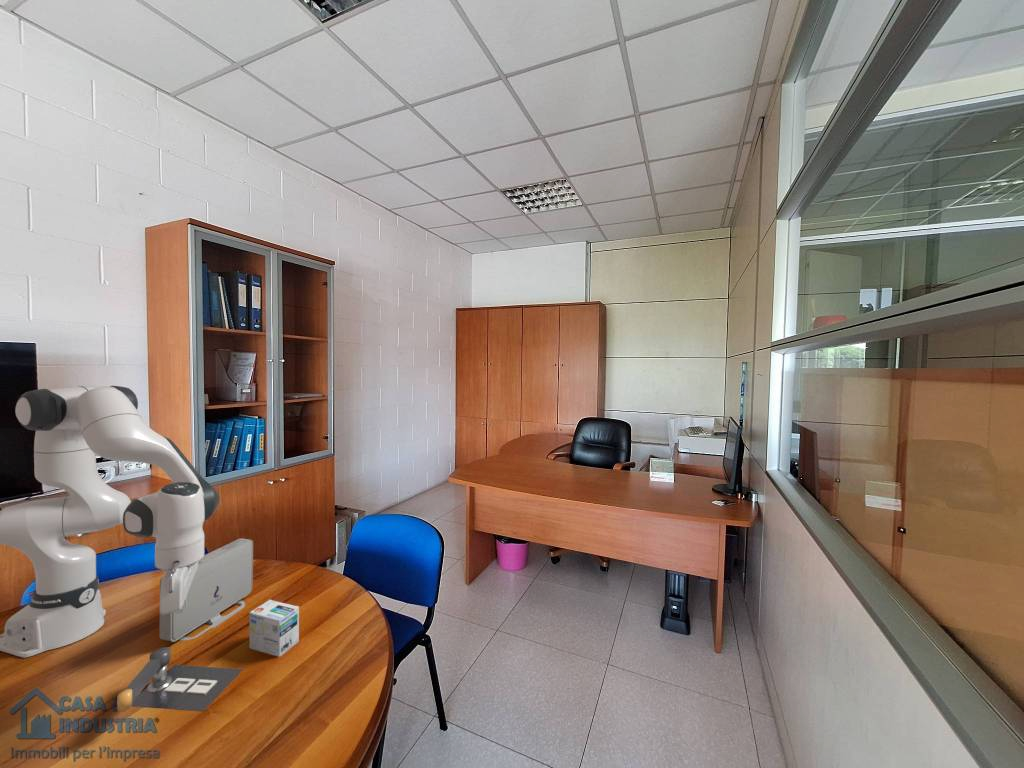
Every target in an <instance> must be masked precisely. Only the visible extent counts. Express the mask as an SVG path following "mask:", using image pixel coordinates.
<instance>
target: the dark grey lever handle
mask: <svg viewBox="0 0 1024 768" xmlns="http://www.w3.org/2000/svg"><path fill="white" fill-rule="evenodd" d="M170 661H171V648H170V647H168V646H167V647H166V646H165V647H160V648H157V649H155V650H154V651H152V652H151V653H150V655H149V661H148V662H147V663H146V665H144V667H143V668H141V670H140V671H139V672H138V673H137V674H136V675H135V677H134V678H133V679H132V680H131V682H130V683H129V684H128V685H127V686H126V687H125V689H124V690H123V691H120V692H119V693H118V694H117V696H116V697H117V699H116V701H117V702H116V704H117V705H116V711H117V712H118V713H122V712H125V711H127V710H129V709H130V708H131V707H133V706H132V702H133V701H134V700H135V698H136V697H137V696H138V695H139V694H140V693H141V692H143V691H144V689H145V688H146V686H148V685H149V682H150V681H151V680H152V677H153V676H154V675H155V674H156V672H157V671H158V670H159V669H160V668H162V667H164V666H166V665H167V666H168V665H169V663H171V662H170Z"/></svg>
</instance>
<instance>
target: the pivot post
mask: <svg viewBox="0 0 1024 768" xmlns="http://www.w3.org/2000/svg"><path fill="white" fill-rule="evenodd" d="M167 671H168V664H167V665H166V666H164V667H162V668H160V669H159V670H158V671H157V672H156V674H155V675H154V676H153V677H152V679H151V680H152V681H151V682H150V683H148V684H147V687H146V688H147V691H149V692H156V691H159V690H161V689H163V688H165V687H167V686H168V685H169V684H170V683H171V682H172V677H170V676H167Z"/></svg>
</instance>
